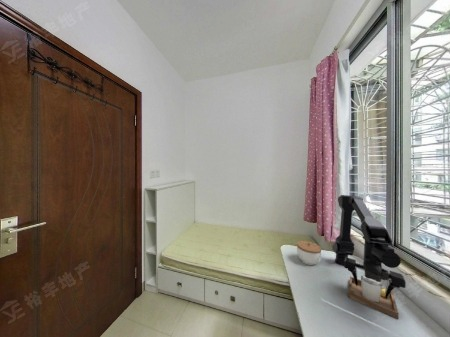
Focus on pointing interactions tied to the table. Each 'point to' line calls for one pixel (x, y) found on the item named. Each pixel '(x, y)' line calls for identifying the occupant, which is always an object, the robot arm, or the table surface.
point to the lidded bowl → (308, 252)
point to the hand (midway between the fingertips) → (370, 291)
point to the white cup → (371, 289)
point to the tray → (383, 305)
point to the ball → (383, 292)
